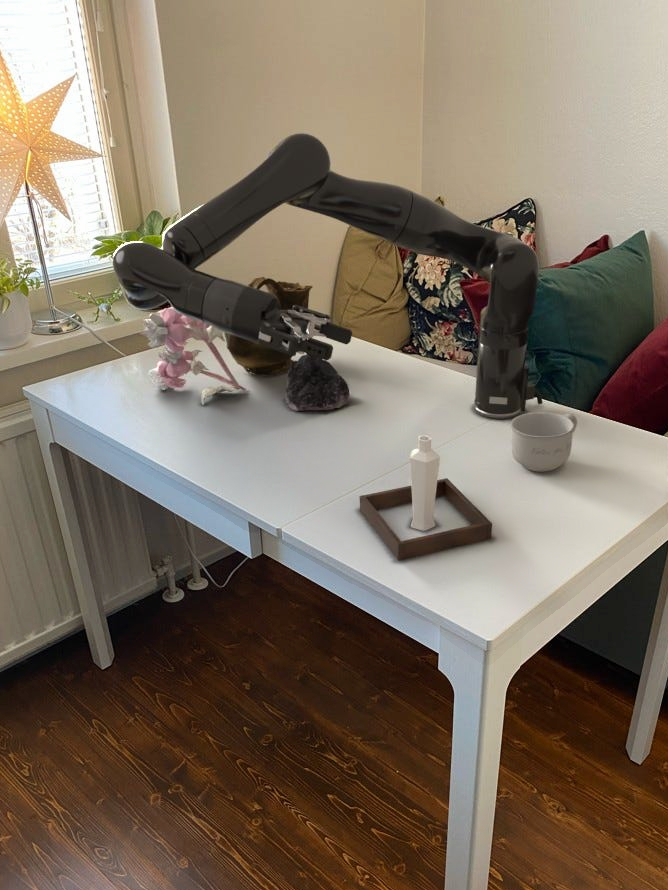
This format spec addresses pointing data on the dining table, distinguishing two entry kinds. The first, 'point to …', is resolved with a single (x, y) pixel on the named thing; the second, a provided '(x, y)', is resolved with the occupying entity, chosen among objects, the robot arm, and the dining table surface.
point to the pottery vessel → (258, 355)
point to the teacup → (542, 439)
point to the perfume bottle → (424, 483)
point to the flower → (175, 364)
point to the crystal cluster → (315, 385)
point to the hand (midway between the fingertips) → (341, 345)
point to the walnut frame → (427, 543)
